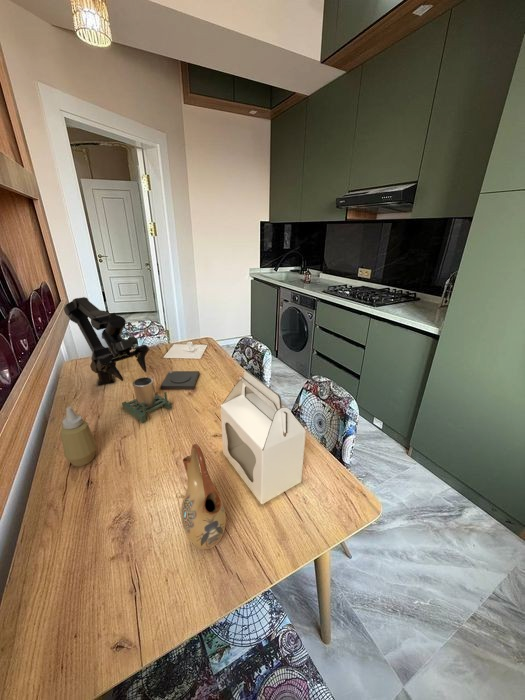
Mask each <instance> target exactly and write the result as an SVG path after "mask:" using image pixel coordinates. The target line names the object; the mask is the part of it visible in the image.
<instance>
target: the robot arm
mask: <svg viewBox="0 0 525 700" xmlns="http://www.w3.org/2000/svg"><path fill="white" fill-rule="evenodd" d="M63 310H64V314H65V315H66V316H67V317H68V319H69V320H70V321H71V322H72V323H74V324H77V326H78V328H79V330H80V332H81V334H82V336H83V337H84V339H85V341H86V343H87V345H88V347H89V349H90V351H91V352H92V353H91V359H90V360H91V362H90V365H89V366H90V370H91V371H92V372H93V373H95V374H97V385H98V386H105V385H108V384H113V383H116V381H115V378H117V379H119V380H120V381H121V382H123V381H124V377H123V376H122V374H121V372H120V371H119V369H118V368H117V362H120V361H123V360H126V359H129V358H133V357H135V358H136V362H137V363H138V365H139V366H140V368H141V370H142V371H143V372H144V373H147V364H146V356H147V354H148V353H149V351H150V347H149V346H148V345H147V344H141V345H138V346H136V347H135V345H136V344H138V339H137V338H136V337H135V335H132V336H131V335H130V336H129V337H128V338H127V339H125V338H123V337H122V333H123V331H124V329H125V326H126V324H127V323H126V319H125V318H124V317H122V315H119V314H117V313H116V312H111V313H110V312H109V311H107V310H102V309H99V308H98V307H97V306H96V305H95V304H93V303H92V302H91V301H89V298H88V297H85V296H83V297H75V298H73V299H72V300H71V301H70V302H68V303H66V304H65V305H64V307H63ZM101 330H102V332H101V339H102V340H104V342H105V344H106V345H107V347H105V346H104V345H103V343H102V342H101V340H100V337H99V336H98V335H97V333H96V331H101ZM134 347H135V349H134V350H132V348H134Z"/></svg>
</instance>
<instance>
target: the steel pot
mask: <svg viewBox="0 0 525 700" xmlns="http://www.w3.org/2000/svg"><path fill="white" fill-rule="evenodd" d="M132 386H133V389H134V390H133V391H134V394H135V395H134V396H135V399H136V401H137V402H136V403H137V405H136V406H139V407H141V408H142V402H144V406H145V407H150V406H152V405H153V404H155V402H156V399H155V387H154V379H153V378H152V377H150V376H144V377H139V378H137V379H134V381H132ZM152 407H153V406H152ZM150 408H151V407H150Z"/></svg>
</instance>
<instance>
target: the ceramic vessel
mask: <svg viewBox="0 0 525 700" xmlns="http://www.w3.org/2000/svg"><path fill="white" fill-rule="evenodd" d="M182 463H183V465H184V468H185V471H186V476H187V488H186V491H185V494H184V496H183V499H182V502H181V507H180V508H181V509H180V518H181V525H182V529H183V532H184V534H185V536H186V537H187V539H188V541H189V542H190V543H191V544H193V545H194V547H197V548H199V549H201V550H210V549H213V548H214V547H216V546H217V545H218V544H219V543H220V542H221V540H222V538H223V536H224V533H225V529H226V525H227V524H226V522H227V521H226V520H227V515H226V508H225V505H224V502H223V500H222V498H221V496H220V494H219V492H218V490H217V488H216V486H215V484H214V483H213V481H212V479H211V476H210V474H209V471H208V467H207V463H206V458H205V456H204V453H203V450H202V449H201V447H200V445H199V444H198V443H193V444H192V446H191V452H190V455H188V456H185V457H184V458H183V459H182Z"/></svg>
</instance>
